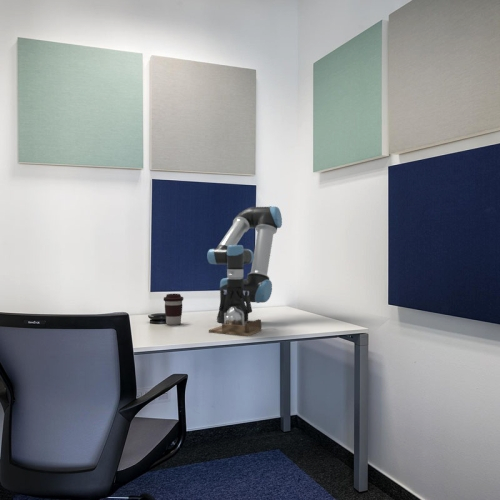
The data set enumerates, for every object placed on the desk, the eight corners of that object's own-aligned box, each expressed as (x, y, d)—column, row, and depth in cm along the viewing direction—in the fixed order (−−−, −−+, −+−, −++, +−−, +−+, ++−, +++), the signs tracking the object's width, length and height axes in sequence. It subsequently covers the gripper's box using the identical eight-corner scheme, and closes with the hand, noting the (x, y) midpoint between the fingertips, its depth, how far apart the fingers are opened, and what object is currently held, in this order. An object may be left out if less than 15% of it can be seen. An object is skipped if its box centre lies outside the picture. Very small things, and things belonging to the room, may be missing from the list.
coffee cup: (172, 321, 246) (172, 292, 245) (187, 323, 241) (187, 293, 240) (159, 324, 237) (159, 294, 237) (174, 326, 232) (174, 295, 232)
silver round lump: (223, 326, 221) (223, 305, 220) (242, 325, 223) (242, 304, 223) (226, 330, 212) (226, 307, 212) (247, 329, 214) (247, 307, 214)
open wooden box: (208, 332, 216) (208, 321, 216) (223, 327, 228) (223, 316, 228) (247, 336, 207) (247, 324, 207) (261, 330, 219) (261, 319, 219)
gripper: (211, 278, 219) (211, 326, 219) (252, 279, 209) (252, 330, 209) (219, 277, 225) (219, 324, 226) (259, 278, 215) (259, 327, 216)
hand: (235, 327), depth 217 cm, fingers closed on silver round lump, 9 cm apart
